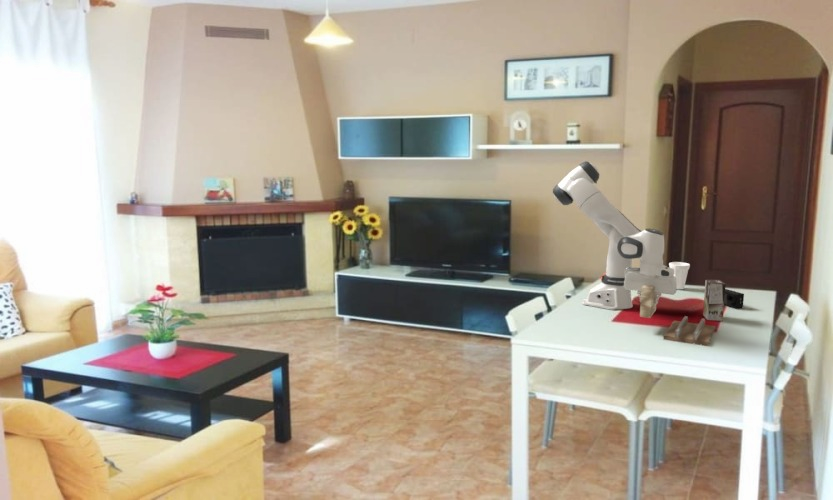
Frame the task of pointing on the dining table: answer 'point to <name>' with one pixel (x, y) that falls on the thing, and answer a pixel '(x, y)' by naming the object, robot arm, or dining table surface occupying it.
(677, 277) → the cup
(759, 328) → the dining table surface
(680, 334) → the track base
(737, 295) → the digital camera
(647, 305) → the door panel
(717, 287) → the coffee box
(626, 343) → the dining table surface
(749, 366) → the dining table surface
